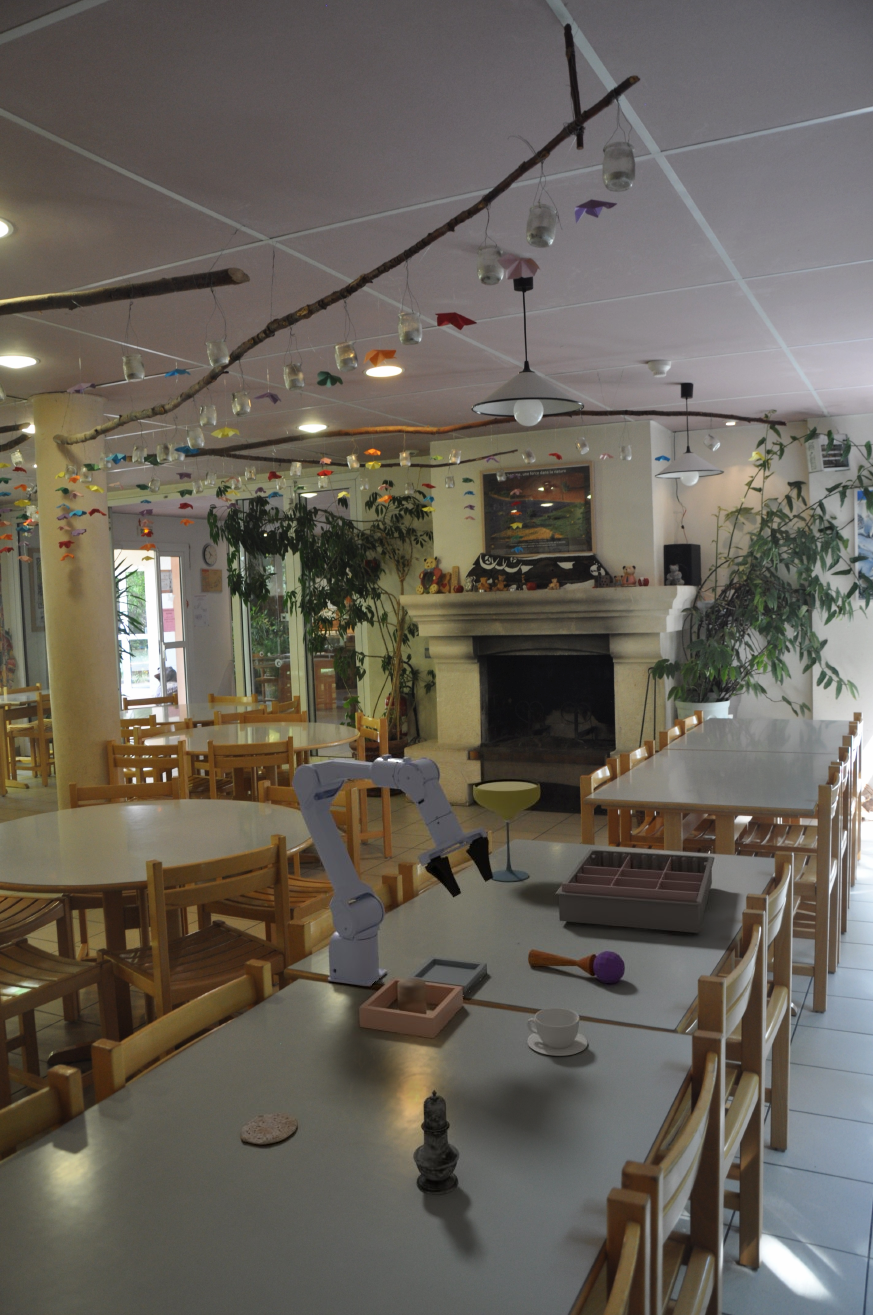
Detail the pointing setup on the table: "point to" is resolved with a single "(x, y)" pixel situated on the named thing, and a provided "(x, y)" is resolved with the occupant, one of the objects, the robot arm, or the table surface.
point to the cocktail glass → (507, 810)
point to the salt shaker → (436, 1150)
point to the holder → (409, 1022)
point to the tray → (451, 972)
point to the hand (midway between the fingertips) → (473, 887)
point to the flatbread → (268, 1128)
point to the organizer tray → (637, 890)
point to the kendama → (584, 964)
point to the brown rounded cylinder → (412, 995)
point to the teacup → (556, 1032)
